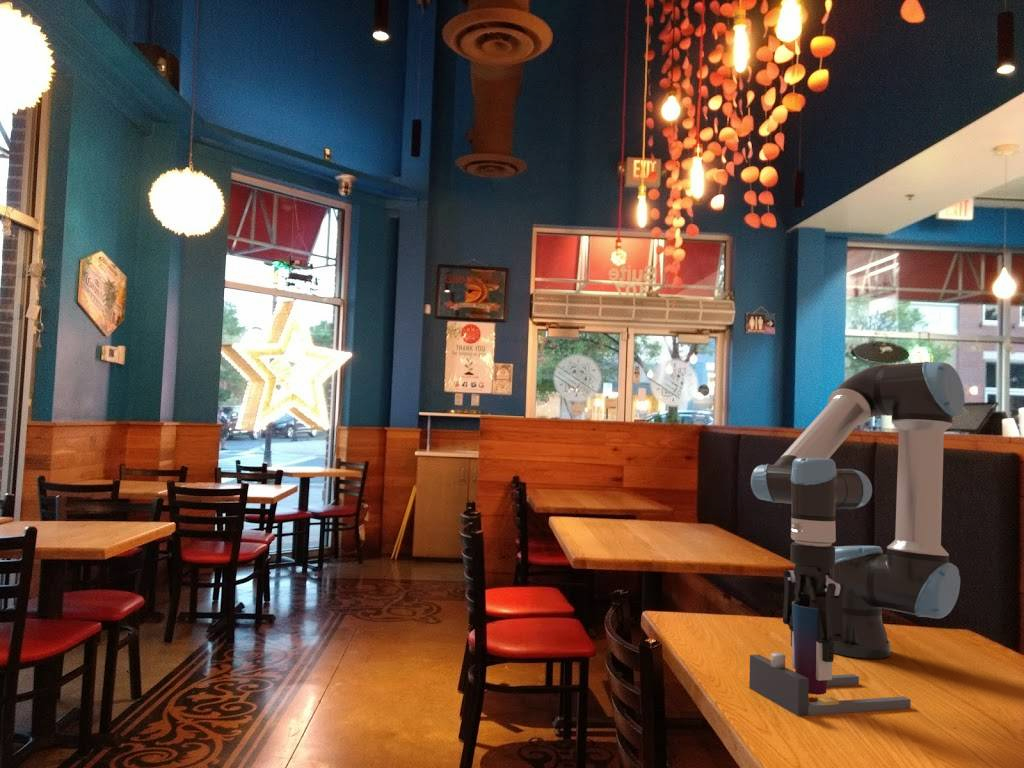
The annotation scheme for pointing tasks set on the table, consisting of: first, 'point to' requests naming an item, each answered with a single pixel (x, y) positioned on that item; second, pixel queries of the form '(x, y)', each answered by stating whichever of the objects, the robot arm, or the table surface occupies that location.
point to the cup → (807, 645)
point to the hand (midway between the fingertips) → (811, 673)
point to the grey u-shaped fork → (794, 690)
